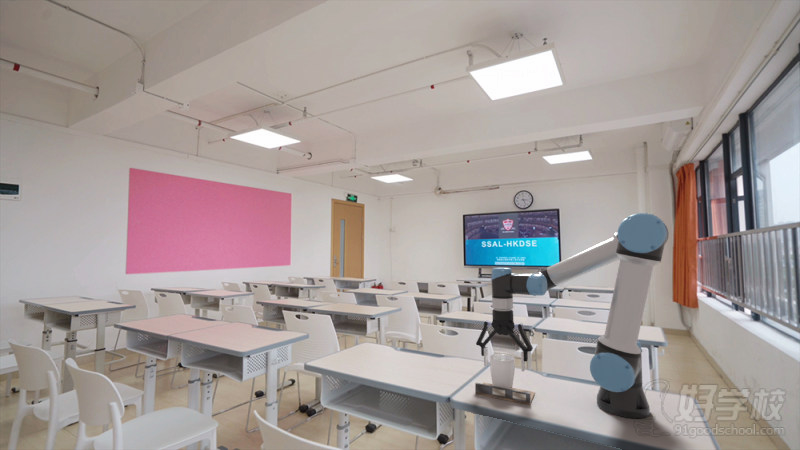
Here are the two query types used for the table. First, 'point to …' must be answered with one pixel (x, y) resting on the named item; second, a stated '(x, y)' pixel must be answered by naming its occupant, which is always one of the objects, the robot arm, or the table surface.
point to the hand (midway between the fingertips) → (504, 367)
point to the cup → (502, 370)
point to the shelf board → (504, 393)
